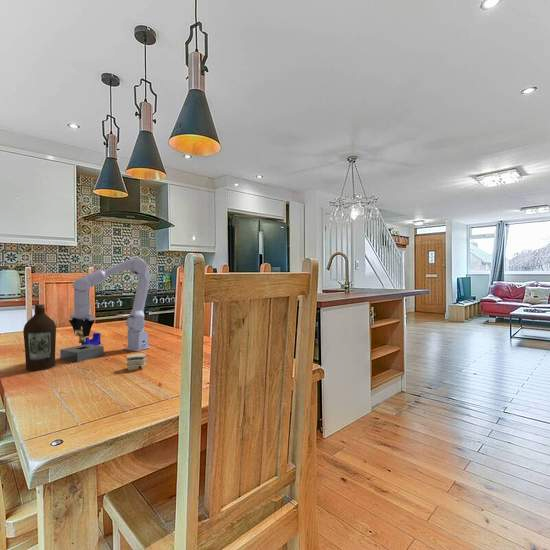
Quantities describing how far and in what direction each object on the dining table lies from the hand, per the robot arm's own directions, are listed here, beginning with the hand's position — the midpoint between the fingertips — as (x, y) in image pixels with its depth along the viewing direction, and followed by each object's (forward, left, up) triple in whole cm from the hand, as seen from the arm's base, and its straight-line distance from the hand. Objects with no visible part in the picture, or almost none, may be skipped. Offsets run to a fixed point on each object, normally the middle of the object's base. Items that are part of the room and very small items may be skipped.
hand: (82, 335), depth 144 cm
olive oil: (0, +17, -10) cm, 20 cm away
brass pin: (0, 0, -3) cm, 3 cm away
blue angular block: (+16, -14, -10) cm, 23 cm away
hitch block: (0, 0, -10) cm, 10 cm away
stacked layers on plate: (-36, +1, -10) cm, 37 cm away
